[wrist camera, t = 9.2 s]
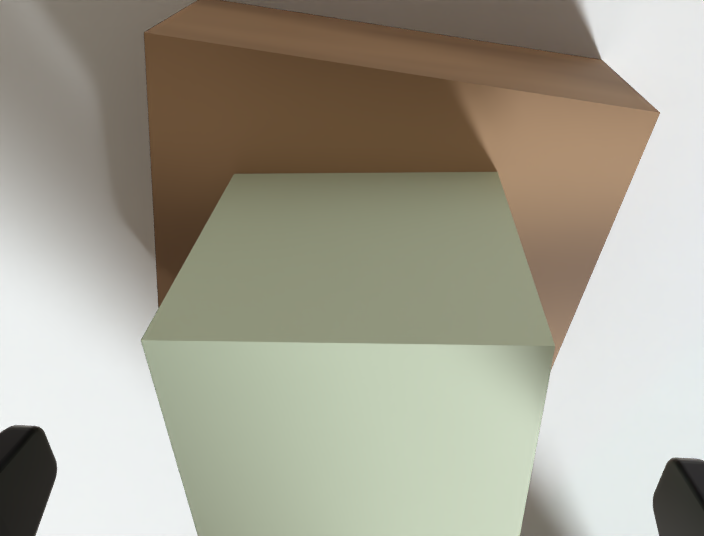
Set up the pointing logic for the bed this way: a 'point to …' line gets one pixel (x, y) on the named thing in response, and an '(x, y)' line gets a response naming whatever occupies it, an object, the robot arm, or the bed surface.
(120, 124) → the bed surface
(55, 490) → the bed surface
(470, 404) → the sage cube
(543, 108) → the walnut block
